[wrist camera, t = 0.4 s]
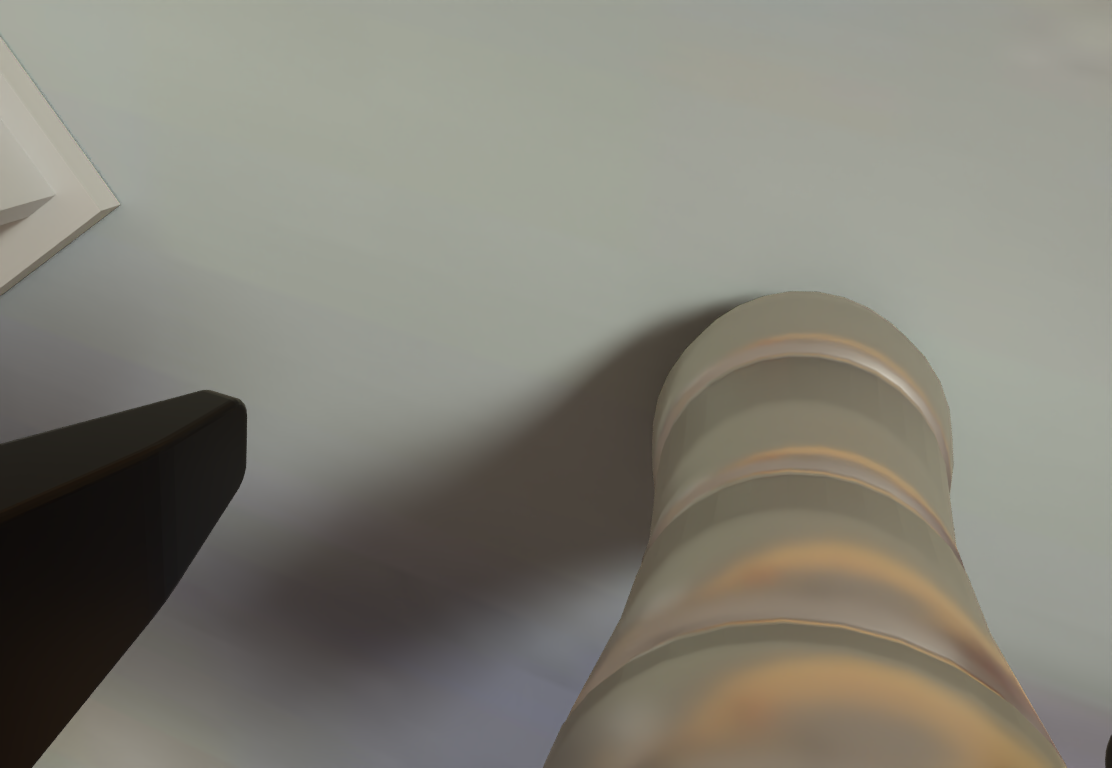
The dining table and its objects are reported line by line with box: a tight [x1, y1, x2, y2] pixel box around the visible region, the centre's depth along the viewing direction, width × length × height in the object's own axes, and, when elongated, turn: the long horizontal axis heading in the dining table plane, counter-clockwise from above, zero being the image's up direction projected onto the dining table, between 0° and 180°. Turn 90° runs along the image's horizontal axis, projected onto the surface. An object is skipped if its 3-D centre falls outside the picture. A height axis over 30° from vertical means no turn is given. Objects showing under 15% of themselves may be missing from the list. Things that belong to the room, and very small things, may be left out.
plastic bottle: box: [543, 291, 1067, 768], centre depth 14 cm, size 6×7×20 cm
